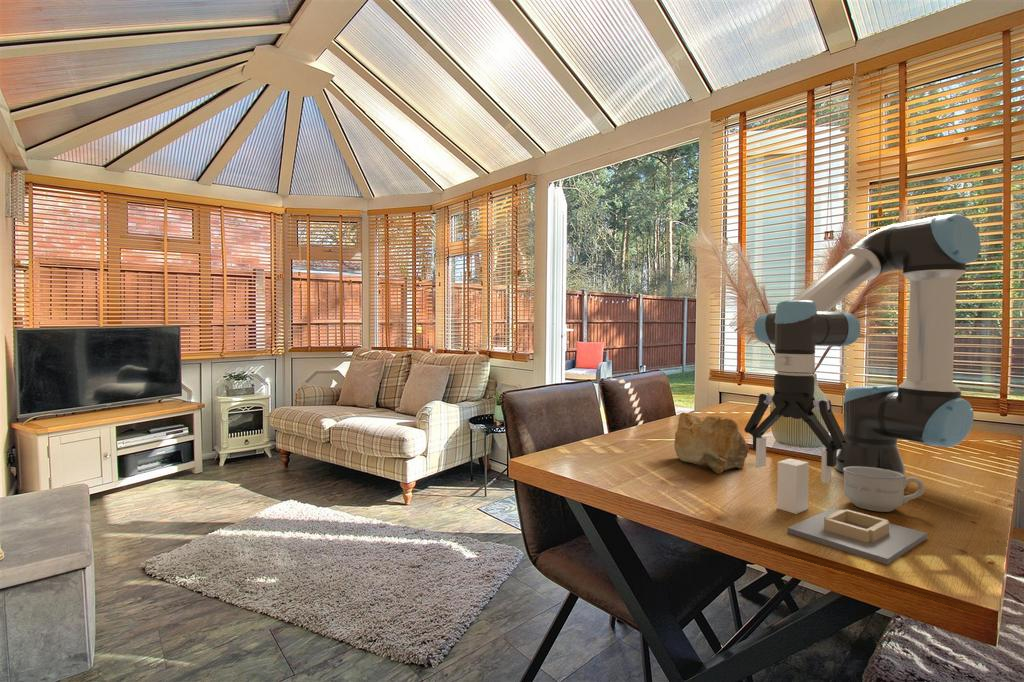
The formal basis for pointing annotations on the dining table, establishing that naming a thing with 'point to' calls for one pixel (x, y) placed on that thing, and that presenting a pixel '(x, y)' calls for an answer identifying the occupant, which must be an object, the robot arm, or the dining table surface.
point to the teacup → (878, 488)
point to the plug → (792, 485)
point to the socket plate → (859, 534)
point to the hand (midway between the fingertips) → (791, 473)
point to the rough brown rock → (710, 442)
